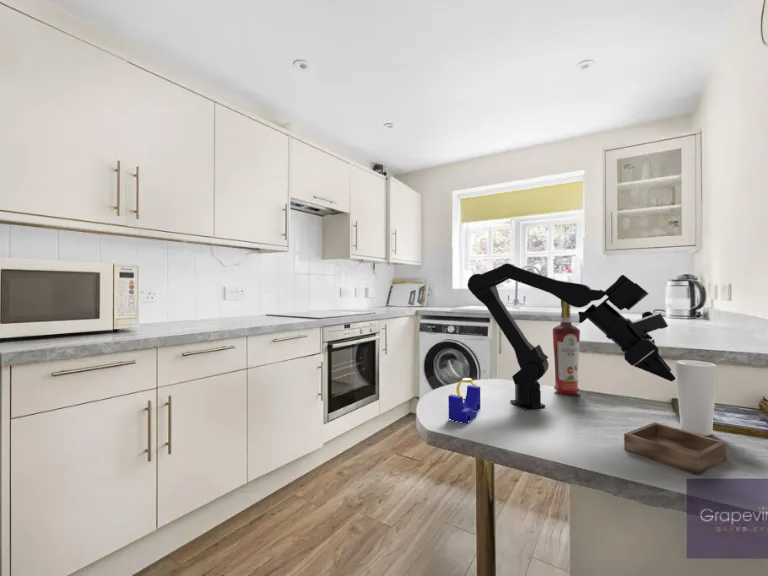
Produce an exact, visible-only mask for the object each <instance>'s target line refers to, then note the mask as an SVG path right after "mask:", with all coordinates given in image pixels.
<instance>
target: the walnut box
mask: <svg viewBox="0 0 768 576" xmlns="http://www.w3.org/2000/svg"><path fill="white" fill-rule="evenodd" d="M623 437H624V438H623V442H624V443H623V447H624V448H623V449H624V450H626V451H629V452H630V453H631V452H632V453H635V454H637V455H640V456H643V457H646V458H648V459H651V460H654V461H657V462H659V463H662V464H666V465H669V466H670V467H673V468H676V469H679V470H682V471H684V472H688V473H690V474H694V475H696V476H699V475H701V474H703V473H705V472H706V471H708V470H710V469H711V468H713V467H715V466H716V465H718V464H720V463H722V462H723V460H724V459H725V460H727V442H725V441H723V440H718V439H715V438H713V437H712V438H711V437H709V436H701V435H698V434H694V433H691V432H687V431H684V430H682V429H681V428H680V429H679V428H676V427H672V426H670V425H665V424H662V423H658V422H651V423H649V424H647V425H644V426H641V427H638V428H636V429H633V430H631V431H627V432H625V433H624V434H623ZM725 460H724V461H725ZM721 461H722V462H721Z"/></svg>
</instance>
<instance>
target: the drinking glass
mask: <svg viewBox="0 0 768 576" xmlns="http://www.w3.org/2000/svg"><path fill="white" fill-rule="evenodd" d="M675 378H676V379H675V385H676V393H677V394H676V395H677V403H678V411H679V426H680V427H679V428H680V430H684V431H687V432H691V433H694V434H698V435H701V436H705V437H709V436H711V435H712V434H713V426H714V425H713V424H714V423H713V421H714V414H715V403H716V393H717V384H718V381H717V380H718V375H717V365H716V363H715V364H714V363H712V362H709V361H708V362H707V361H702V360H695V359H694V360H691V359H680V360H679V359H678V360H676V361H675Z"/></svg>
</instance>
